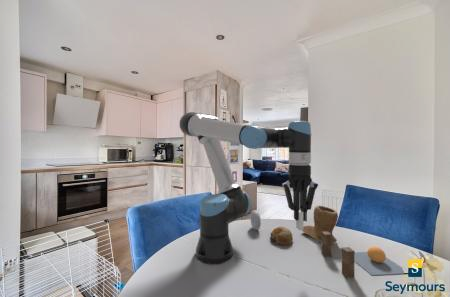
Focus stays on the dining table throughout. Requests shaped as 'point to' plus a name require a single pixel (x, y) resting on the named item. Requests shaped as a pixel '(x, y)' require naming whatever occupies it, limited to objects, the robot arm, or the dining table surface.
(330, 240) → the gate post left
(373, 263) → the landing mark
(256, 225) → the donut
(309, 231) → the brown boot
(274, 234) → the bread roll
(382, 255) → the ball
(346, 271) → the gate post right
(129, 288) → the dining table surface
